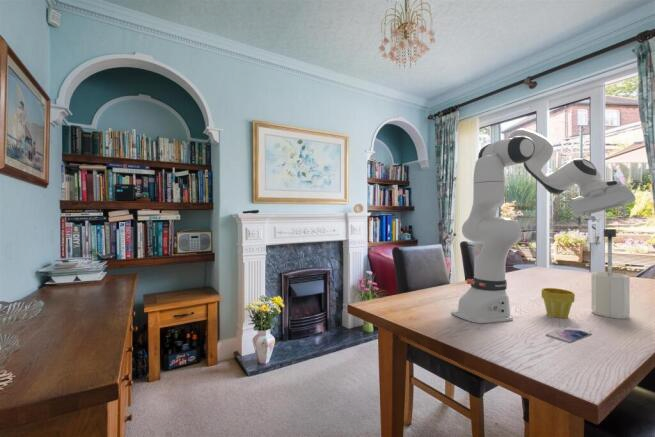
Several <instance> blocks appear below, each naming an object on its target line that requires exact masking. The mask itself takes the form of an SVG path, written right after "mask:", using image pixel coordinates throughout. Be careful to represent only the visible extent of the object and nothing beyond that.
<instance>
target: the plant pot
mask: <svg viewBox="0 0 655 437" xmlns="http://www.w3.org/2000/svg"><path fill="white" fill-rule="evenodd" d="M541 298H542V299H543V302H544V306H545V311H546V314H547V315H548V316H550V317H551V318H552V317H553V318H558V319H568V318H569V315H570V311H571V307H572V305H573V303H574V302H575V292H573V291H571V290H567V289H562V288H554V287H544V288H542V289H541Z"/></svg>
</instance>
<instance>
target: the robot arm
mask: <svg viewBox="0 0 655 437" xmlns="http://www.w3.org/2000/svg"><path fill="white" fill-rule="evenodd" d="M553 153H554V145H553V144H552V142H551V141H550V140H549V139H548V138H546V137H545V136H543V135H542V134H539V133H537V132H536V131H532V130H530V129H525V128H519V129H516V130H514V131H513V132H511V133H510V134H509V136H508V138H506V139H500V140H497V141H495V142H492V143H488V144H486V145H484V146H483V147H481V149H480V150H479V152H478V156H477V160H476V161H475V163H474V164H475V166H474V168H473V169H474V170H473V179H472V181H473V183H472V184H473V189H472V190H473V194H472V195H473V196H472V197H473V198H472V199H473V200H472V206H471V210H470V213H469V216H468V218H467V219H466V220H465V221H463V224H462V227H461V232H462V235H463V237H464V238H466V239H467V240H468V241H470V242H473V243H476V244H482V247H481V250H480V253H478V254H477V255H476V256H475V258H474V259H473V260H474V261H473V266H474V267H473V269H474V270H473V275H474V276H473V278H472V279H470V278H467V279H466V281H465V282H466V283H465V284H467V285H470V286H471V287H470V288H468V290H467V291H466V292H465V293H464V294H462V296H461V297H460V298H459V300H458V304H457V305H458V307H457V308H456V309H453V310H452V311H451V314H452V315H453V316H455V317H457V318H461V319H462V320H466V321H469V322H473V323H477V324H488V323H497V322H507V321H513V320H514V317H513V316H512V315H511V309H510V299H509V296H508V294H507V291H506V290H507V286H508V283H507V279H506V261H507V257H508V254H509V252H510V251H511V249H512V246H514V245H515V244H516V243H518V241H519V240H520V238H521V237H522V227H521V225H520V224H519V222H518V221H517V220H514V219H511V218H508V217H503V216H496V214H497V211H498V209H499V208H500V207H501V206H503V204H504V203H505V198H506V197H505V171H504V169H505V167H511V166H516V165H518V164H523V167H524V169H525V171H527V173H529V174H530V175H531V177H532V178H534V179H535V180H536V181H537V182H538V183H539V184H541V185H542V186H543V188H544V189H545V190H546V191H547V192H548V193H550V194H552V195H553V194H554V195H557V194H558V195H560V194H562V193H564V192H565V191H566V190H568V189H569V188H571V187H573V186H574V185H576V186H578V187H579V192H580V194H581V196H580V195H579V196H577V197H575V198H574V197H573V198H570V200H569V201H567V205H568V207H569V208H571V212H572V214H573V216H574V217H576V218H581V217H584V216H585V217H586V218H587V219H589V220H591V222H592V223H594V222H595V223H596V222H597V218H596V216H595V215H593V216H592V215H591V214H595V213H600V212H603V211H607V210H610V209H614V208H618V207H621V208H619V212H620V213H621V215H626V214H627V211H626V209H627V205H628V204H633V203H635V201H636V196H635V194H634V192H633V191H632V190H631V189H630V188H629V187H628V186H626V185H624V184H623V183H622V181H621V180H619V179H616V180H607V181H606V180H605V181H604V180H603V179H602V175H601V173H600V172H599V170H598V169H597V168H596V166H594V164H593V163H592V162H590V161H589V160H588V159H584V158H573V159H571V160H570V161H567V162H566V163H565V164H563V165H562V166H561V167H559V168H557V169H555V170H554V171H552V172H549V173H546V171H544V169H543V167H544V166H545V165H546V164H547V163H548V162H549V161H550V160H551V158H552V156H553Z"/></svg>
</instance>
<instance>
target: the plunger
mask: <svg viewBox="0 0 655 437" xmlns="http://www.w3.org/2000/svg"><path fill="white" fill-rule="evenodd" d="M603 237H605V238H607V272H608V276H612V273H613V238H617V229H616V228H603Z"/></svg>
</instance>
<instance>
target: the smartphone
mask: <svg viewBox="0 0 655 437" xmlns="http://www.w3.org/2000/svg"><path fill="white" fill-rule="evenodd" d="M545 336H546V337H548V338H552V339H555V340H558V341H562V342H564V343H567V342H568V344H573V343H575V342H577V340H578V341H579V340H580V341H581V340H583V339H585V338H588V337H590V336H593V333H592V332H589V331H585V330H582V329H580V328H575V327H571V326H566V327H563V328H560V329H557V330H554V331H551V332H548V333H546V334H545ZM572 342H573V343H572Z"/></svg>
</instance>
